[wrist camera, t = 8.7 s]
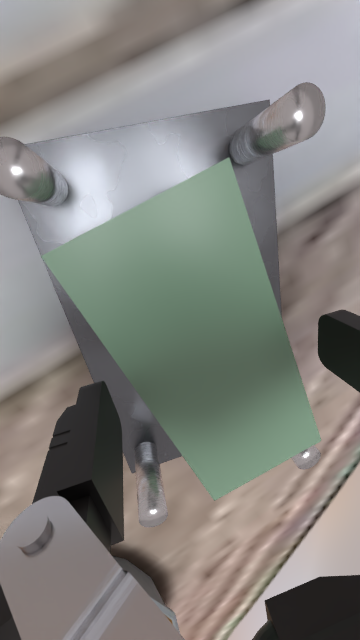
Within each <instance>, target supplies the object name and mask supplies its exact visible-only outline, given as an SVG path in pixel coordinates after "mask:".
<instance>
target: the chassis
mask: <svg viewBox="0 0 360 640" xmlns="http://www.w3.org/2000/svg"><path fill="white" fill-rule="evenodd" d="M324 116H325V100H324V97H323V94H322V92H321V90H320V89H319V88H318V87H317V86H316V85H314V84H312V83H307V82H306V83H301V84H299V85H297V86H296V87H294V88H293V89H292V90H290V91H289V92H288V93H286V94H285V95H284V96H282V97H281V98H280V99H278V100H277V101H276V102H274V103H273V104H272V105H270V100H265V101H260V102H254V103H249V104H243V105H238V106H232V107H227V108H221V109H216V110H210V111H205V112H200V113H194V114H189V115H183V116H178V117H172V118H167V119H161V120H156V121H150V122H145V123H140V124H134V125H129V126H123V127H118V128H112V129H107V130H101V131H96V132H91V133H85V134H80V135H74V136H69V137H63V138H58V139H52V140H47V141H41V142H36V143H31V144H25V145H24V144H23V143H21V142H20V141H18V140H16V139H13V138H9V137H0V194H1V195H3V196H5V197H8V198H12V199H17V200H18V201H19V204H20V206H21V208H22V211H23V213H24V216H25V218H26V220H27V223H28V225H29V228H30V230H31V232H32V235H33V237H34V240H35V242H36V244H37V247H38V249H39V252H40V254H41V256H42V255H44V254H46V253H48V252H50V251H52V250H53V249H55V248H57V247H59V246H61V245H63V244H65V243H67V242H69V241H71V240H73V239H74V238H76V237H78V236H80V235H82V234H84V233H86V232H88V231H90V230H92V229H93V228H95V227H97V226H99V225H101V224H103V223H105V222H107V221H109V220H111V219H113V218H114V217H116V216H118V215H120V214H122V213H124V212H126V211H128V210H130V209H132V208H133V207H135V206H137V205H139V204H141V203H143V202H145V201H147V200H149V199H151V198H153V197H154V196H156V195H158V194H160V193H162V192H164V191H166V190H168V189H170V188H172V187H173V186H175V185H177V184H179V183H181V182H183V181H185V180H187V179H189V178H191V177H193V176H194V175H196V174H198V173H200V172H202V171H204V170H206V169H208V168H210V167H212V166H213V165H215V164H217V163H219V162H221V161H223V160H225V159H227V158H230V161H231V164H232V167H233V170H234V173H235V176H236V180H237V183H238V186H239V189H240V192H241V195H242V198H243V201H244V204H245V207H246V210H247V213H248V216H249V220H250V223H251V226H252V229H253V232H254V235H255V238H256V241H257V244H258V247H259V250H260V253H261V256H262V260H263V263H264V266H265V269H266V272H267V275H268V278H269V281H270V284H271V287H272V290H273V293H274V296H275V300H276V303H277V306H278V309H279V312H280V315H281V298H280V280H279V262H278V244H277V226H276V207H275V189H274V171H273V154H274V153H276V152H279V151H281V150H283V149H286V148H288V147H290V146H293V145H295V144H297V143H300V142H302V141H304V140H307V139H309V138H311V137H312V136H314V135H315V134H316V133H317V131H318V130H319V129H320V127H321V125H322V123H323V120H324ZM43 261H44V260H43ZM44 264H45V266H46V268H47V271H48V273H49V276H50V278H51V280H52V283H53V285H54V288H55V290H56V292H57V295H58V297H59V300H60V302H61V304H62V307H63V309H64V312H65V314H66V316H67V319H68V321H69V324H70V326H71V328H72V331H73V333H74V336H75V338H76V340H77V343H78V345H79V348H80V350H81V352H82V355H83V357H84V360H85V362H86V364H87V367H88V369H89V372H90V374H91V376H92V379H93V381H94V383H97V382H100V381H104V382H105V383H106V385H107V388H108V390H109V393H110V395H111V398H112V400H113V402H114V405H115V407H116V410H117V412H118V415H119V418H120V422H121V427H122V450H123V453H124V456H125V458H126V460H127V463H128V465H129V468H130V470H131V472H132V473H135V472H136V485H137V500H138V515H139V523H140V524H141V525H142V526H144V527H155V526H158V525H160V524H161V523H163V522H164V521H165V520H166V518H167V516H168V512H167V506H166V500H165V494H164V488H163V482H162V476H161V470H160V464H161V463H164V462H166V461H169V460H172V459H175V458H178V457H181V456H182V454H181V453H180V452H179V450H178V449H177V447H176V446H175V445H174V443H173V442H172V440H171V439H170V438H169V436H168V435H167V433H166V432H165V430H164V429H163V428H162V426H161V425H160V423H159V422H158V421H157V419H156V418H155V416H154V415H153V414H152V412H151V411H150V409H149V408H148V407H147V405H146V404H145V402H144V401H143V399H142V398H141V397H140V395H139V394H138V392H137V391H136V390H135V388H134V387H133V385H132V384H131V383H130V381H129V380H128V378H127V377H126V376H125V374H124V373H123V371H122V370H121V368H120V367H119V366H118V364H117V363H116V361H115V360H114V359H113V357H112V356H111V354H110V353H109V352H108V350H107V349H106V347H105V346H104V345H103V343H102V342H101V340H100V339H99V338H98V336H97V335H96V333H95V332H94V330H93V329H92V328H91V326H90V325H89V323H88V322H87V321H86V319H85V318H84V316H83V315H82V314H81V312H80V311H79V309H78V308H77V307H76V305H75V304H74V302H73V301H72V299H71V298H70V297H69V295H68V294H67V292H66V291H65V290H64V288H63V287H62V285H61V284H60V283H59V281H58V280H57V278H56V277H55V276H54V274H53V273H52V271H51V270H50V269H49V267H48V266H47V264H46V263H45V261H44ZM281 318H282V317H281ZM291 458H292V460H293V461H294V463H295V464H296V465H297V467H298V468H300V469H308V468H310V467H312V466H314V465H315V464H316V463H317V462H318V461H319V459H320V451H319V450H318V449H317V448H316V447H315V446H314V445H313V446H311V447H309V448H308V449H306V450H304V451H302V452H300V453H299V454H297V455H295V456H293V457H291Z"/></svg>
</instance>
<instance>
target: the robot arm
mask: <svg viewBox="0 0 360 640" xmlns="http://www.w3.org/2000/svg"><path fill="white" fill-rule="evenodd" d="M318 355H319V358H320V360H321V362H322V364H323V365H324V366H325V367H326V368H327V369H329V370H330V371H331V372H333V373H334V374H335V375H337V376H338V377H340V378H341V379H342V380H344V381H345V382H346V383H348V384H349V385H350V386H352V387H353V388H354V389H356V390H357V391H359V392H360V316H358V315H356V314H353V313H351V312H349V311H346V310H339V311H335V312H332V313H329V314H325V315H322V316H321V317H320V318H319V322H318ZM121 541H124V514H123V450H122V427H121V422H120V418H119V415H118V412H117V410H116V407H115V405H114V402H113V400H112V398H111V395H110V393H109V390H108V388H107V385H106V383H105V382H104V381H100V382H97V383H93V384H90V385H87V386H83V387H81V388H80V390H79V394H78V398H77V403H76V405H74V406H70V407H67V408H66V410H65V411H64V412H63V414H62V415H61V417H60V418H59V419H58V421H57V423H56V426H55V430H54V433H53V438H52V440H51V443H50V446H49V451H48V453H47V456H46V460H45V463H44V466H43V470H42V473H41V476H40V480H39V483H38V486H37V490H36V493H35V496H34V500H33V503H32V505H30V506H29V507H27V508H26V509H25V510H24V511H23V512H22V513H21V514H19V515H18V516H17V517H16V519H15V520H14V521H13V522H12V523H11V525H10V526H9V527H8V529H7V530H6V532H5V533H4V535H3V537H2V539H1V541H0V640H185V639H184V638H183V637H182V636H181V634H180V633H179V632H178V631H177V629H176V628H175V627H174V626H173V625H172V623H171V622H170V621H169V620H168V618H167V617H166V616H165V615H164V614H163V612H162V611H161V610H160V609H159V607H158V606H157V605H156V604H155V603H154V601H153V600H152V599H151V598H150V597H149V595H148V594H147V593H146V592H145V590H144V589H143V588H142V587H141V586H140V584H139V583H138V582H137V581H136V580H135V578H134V577H133V576H132V575H131V574H130V573H129V572H128V571H127V570H125V571H124V570H123V569H122V568H121V566H120V565H119V564H118V563H117V562H116V560H115V559H114V558H113V557H112V555H111V554H110V548H111V545H113V544H116V543H119V542H121ZM265 606H266V612H267V619H268V621H267V623H265V625H263V626H262V628H261V629H260V630H259V631H258V632H257V633H256V635H255V636H254V638H253V639H252V640H360V575H352V576H328V577H318V578H316V579H314V580H311V581H309V582H307V583H304V584H302V585H300V586H297V587H295V588H293V589H290V590H288V591H286V592H283V593H281V594H279V595H277V596H274V597H272V598H270V599H267V600H265Z"/></svg>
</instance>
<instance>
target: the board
mask: <svg viewBox="0 0 360 640" xmlns="http://www.w3.org/2000/svg"><path fill="white" fill-rule="evenodd" d="M41 257H42V259H43V260H44V261H45V263H46V264H47V266H48V267H49V269H50V270H51V271H52V273H53V274H54V276H55V277H56V278H57V280H58V281H59V283H60V284H61V285H62V287H63V288H64V290H65V291H66V292H67V294H68V295H69V297H70V298H71V299H72V301H73V302H74V304H75V305H76V307H77V308H78V309H79V311H80V312H81V314H82V315H83V316H84V318H85V319H86V321H87V322H88V323H89V325H90V326H91V328H92V329H93V330H94V332H95V333H96V335H97V336H98V338H99V339H100V340H101V342H102V343H103V345H104V346H105V347H106V349H107V350H108V352H109V353H110V354H111V356H112V357H113V359H114V360H115V361H116V363H117V364H118V366H119V367H120V368H121V370H122V371H123V373H124V374H125V376H126V377H127V378H128V380H129V381H130V383H131V384H132V385H133V387H134V388H135V390H136V391H137V392H138V394H139V395H140V397H141V398H142V399H143V401H144V402H145V404H146V405H147V407H148V408H149V409H150V411H151V412H152V414H153V415H154V416H155V418H156V419H157V421H158V422H159V423H160V425H161V426H162V428H163V429H164V430H165V432H166V433H167V435H168V436H169V438H170V439H171V440H172V442H173V443H174V445H175V446H176V447H177V449H178V450H179V452H180V453H181V454H182V456H183V457H184V459H185V460H186V461H187V463H188V464H189V466H190V467H191V468H192V470H193V471H194V473H195V474H196V476H197V477H198V478H199V480H200V481H201V483H202V484H203V485H204V487H205V488H206V490H207V491H208V492H209V494H210V495H211V497H212V498H213V499H214V501H215V500H217V499H218V498H220V497H222V496H224V495H225V494H227V493H229V492H231V491H233V490H234V489H236V488H238V487H240V486H242V485H243V484H245V483H247V482H249V481H250V480H252V479H254V478H256V477H258V476H259V475H261V474H263V473H265V472H267V471H268V470H270V469H272V468H274V467H275V466H277V465H279V464H281V463H283V462H284V461H286V460H288V459H290V458H291V457H293V456H295V455H297V454H299V453H300V452H302V451H304V450H306V449H308V448H309V447H311V446H313V445H315V444H316V443H318V442H320V441H321V438H320V435H319V432H318V429H317V426H316V423H315V420H314V416H313V413H312V410H311V407H310V404H309V401H308V398H307V395H306V392H305V389H304V386H303V383H302V380H301V376H300V373H299V370H298V367H297V364H296V361H295V358H294V355H293V352H292V349H291V346H290V343H289V340H288V336H287V333H286V330H285V327H284V324H283V321H282V318H281V315H280V312H279V309H278V306H277V303H276V300H275V296H274V293H273V290H272V287H271V284H270V281H269V278H268V275H267V272H266V269H265V266H264V263H263V260H262V256H261V253H260V250H259V247H258V244H257V241H256V238H255V235H254V232H253V229H252V226H251V223H250V220H249V216H248V213H247V210H246V207H245V204H244V201H243V198H242V195H241V192H240V189H239V186H238V183H237V180H236V176H235V173H234V170H233V167H232V164H231V161H230V158H227V159H225V160H223V161H221V162H219V163H217V164H215V165H213V166H212V167H210V168H208V169H206V170H204V171H202V172H200V173H198V174H196V175H194V176H193V177H191V178H189V179H187V180H185V181H183V182H181V183H179V184H177V185H175V186H173V187H172V188H170V189H168V190H166V191H164V192H162V193H160V194H158V195H156V196H154V197H153V198H151V199H149V200H147V201H145V202H143V203H141V204H139V205H137V206H135V207H133V208H132V209H130V210H128V211H126V212H124V213H122V214H120V215H118V216H116V217H114V218H113V219H111V220H109V221H107V222H105V223H103V224H101V225H99V226H97V227H95V228H93V229H92V230H90V231H88V232H86V233H84V234H82V235H80V236H78V237H76V238H74V239H73V240H71V241H69V242H67V243H65V244H63V245H61V246H59V247H57V248H55V249H53V250H52V251H50V252H48V253H46V254H44V255H42V256H41Z"/></svg>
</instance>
